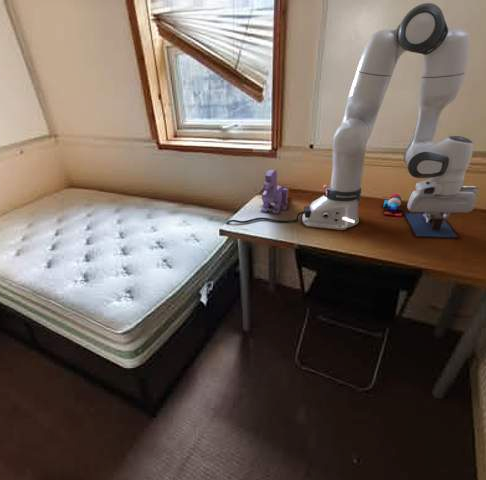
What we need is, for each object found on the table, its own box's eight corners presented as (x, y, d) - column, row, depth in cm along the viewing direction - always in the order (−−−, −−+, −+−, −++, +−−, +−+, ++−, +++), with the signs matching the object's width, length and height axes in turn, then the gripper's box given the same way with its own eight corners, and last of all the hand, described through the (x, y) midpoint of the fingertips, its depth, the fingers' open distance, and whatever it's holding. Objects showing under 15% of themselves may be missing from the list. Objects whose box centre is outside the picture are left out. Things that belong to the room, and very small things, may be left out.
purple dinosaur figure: (254, 215, 149) (253, 173, 138) (274, 195, 166) (275, 157, 155) (278, 218, 143) (279, 176, 133) (297, 197, 160) (299, 158, 150)
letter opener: (439, 230, 120) (443, 218, 117) (431, 230, 121) (435, 218, 118) (429, 215, 130) (432, 204, 128) (422, 215, 131) (425, 204, 128)
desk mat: (416, 237, 120) (417, 236, 120) (404, 214, 136) (404, 213, 136) (457, 238, 117) (457, 237, 117) (440, 214, 133) (440, 213, 132)
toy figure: (402, 220, 135) (403, 200, 144) (404, 209, 132) (405, 190, 141) (381, 219, 138) (384, 200, 148) (382, 209, 135) (385, 190, 144)
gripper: (477, 182, 114) (463, 219, 122) (411, 183, 119) (402, 218, 127) (484, 189, 109) (470, 226, 117) (415, 189, 114) (406, 225, 122)
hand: (434, 222), depth 122 cm, fingers closed on letter opener, 2 cm apart
